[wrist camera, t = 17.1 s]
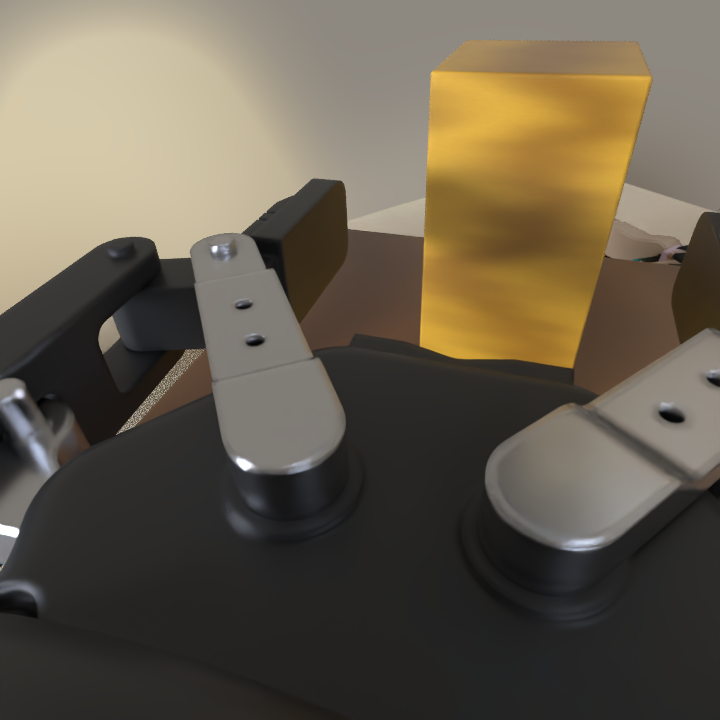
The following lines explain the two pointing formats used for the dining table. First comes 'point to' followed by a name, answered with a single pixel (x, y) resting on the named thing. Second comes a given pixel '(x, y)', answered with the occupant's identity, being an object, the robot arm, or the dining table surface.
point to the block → (524, 192)
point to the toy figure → (643, 246)
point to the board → (403, 314)
